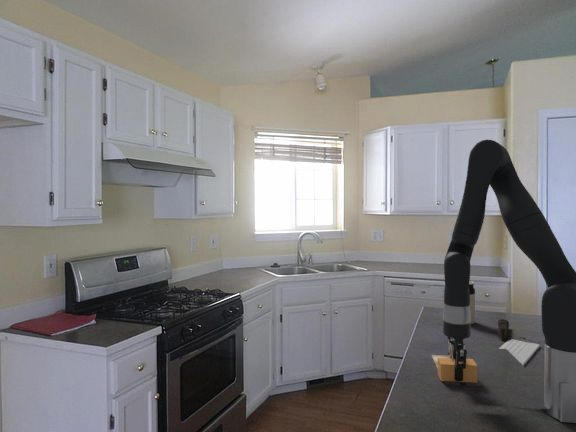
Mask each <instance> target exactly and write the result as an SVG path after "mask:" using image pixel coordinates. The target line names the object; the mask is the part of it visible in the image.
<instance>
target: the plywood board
mask: <svg viewBox="0 0 576 432" xmlns="http://www.w3.org/2000/svg"><path fill="white" fill-rule="evenodd" d="M449 357H450V355H444V354H443V355H441V354H439V355H438V354H431V358H432V359H433V362H434V363H435V366H436V368H437V369H438V358H449Z"/></svg>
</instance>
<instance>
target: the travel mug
mask: <svg viewBox="0 0 576 432" xmlns="http://www.w3.org/2000/svg"><path fill="white" fill-rule="evenodd" d="M474 284H475V281H472V280H470V282H469V291H470V311H471V325H474V324H475V323H476V318H475V317H476V290H475V287H474V286H475V285H474Z"/></svg>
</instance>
